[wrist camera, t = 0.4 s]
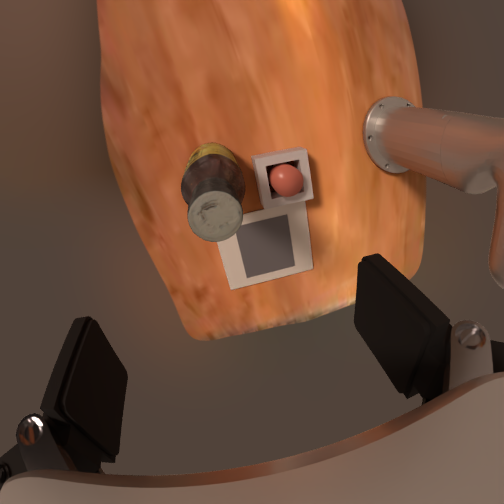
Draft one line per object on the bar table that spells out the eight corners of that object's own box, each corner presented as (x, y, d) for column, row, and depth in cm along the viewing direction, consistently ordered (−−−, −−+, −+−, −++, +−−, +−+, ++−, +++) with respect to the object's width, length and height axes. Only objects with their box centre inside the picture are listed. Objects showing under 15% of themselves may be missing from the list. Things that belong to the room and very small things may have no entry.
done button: (294, 160, 37) (301, 163, 35) (298, 187, 39) (305, 193, 36) (265, 166, 37) (270, 169, 34) (271, 193, 39) (276, 199, 36)
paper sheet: (304, 199, 42) (305, 200, 41) (312, 267, 47) (313, 268, 47) (211, 221, 41) (211, 222, 41) (230, 288, 47) (230, 290, 46)
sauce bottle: (191, 139, 35) (174, 161, 18) (237, 144, 37) (266, 170, 19) (186, 186, 38) (169, 249, 21) (231, 190, 39) (251, 255, 22)
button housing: (299, 146, 38) (306, 149, 35) (306, 192, 41) (313, 198, 38) (251, 156, 38) (254, 159, 35) (260, 203, 41) (264, 209, 38)
